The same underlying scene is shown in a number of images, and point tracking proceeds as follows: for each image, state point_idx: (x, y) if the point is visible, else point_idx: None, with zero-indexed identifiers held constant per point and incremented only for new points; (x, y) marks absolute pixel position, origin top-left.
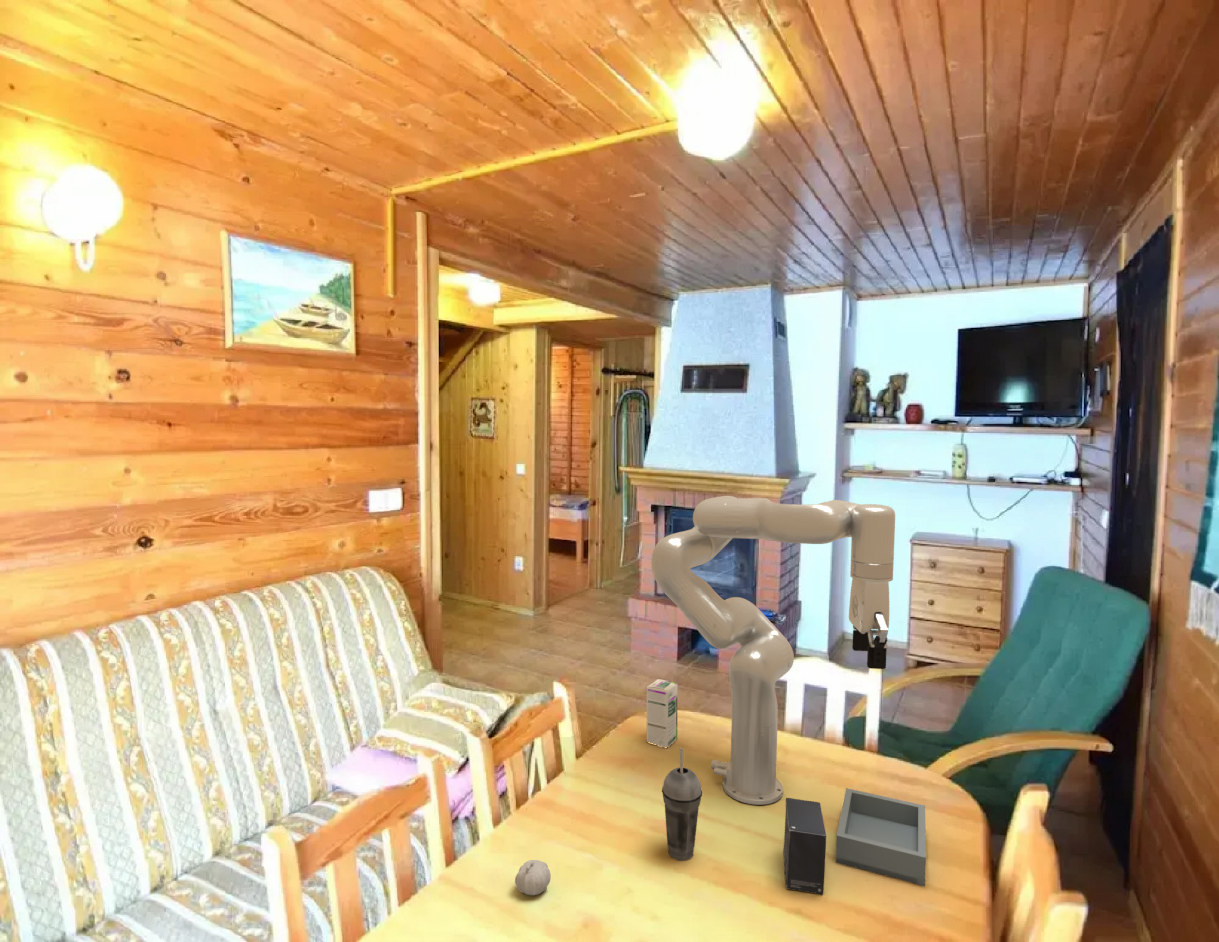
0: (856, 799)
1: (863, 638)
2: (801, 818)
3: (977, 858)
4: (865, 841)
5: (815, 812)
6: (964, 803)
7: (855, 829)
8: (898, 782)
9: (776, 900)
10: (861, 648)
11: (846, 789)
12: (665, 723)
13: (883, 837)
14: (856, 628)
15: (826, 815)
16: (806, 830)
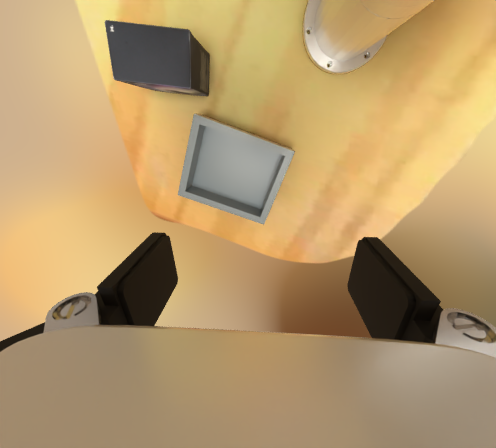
0: (282, 160)
1: (373, 308)
2: (137, 47)
3: (230, 239)
4: (190, 144)
5: (160, 74)
6: (307, 261)
7: (251, 148)
8: (347, 220)
9: None
10: (356, 268)
11: (291, 151)
12: None
13: (240, 173)
14: (178, 329)
15: (284, 124)
16: (112, 50)
